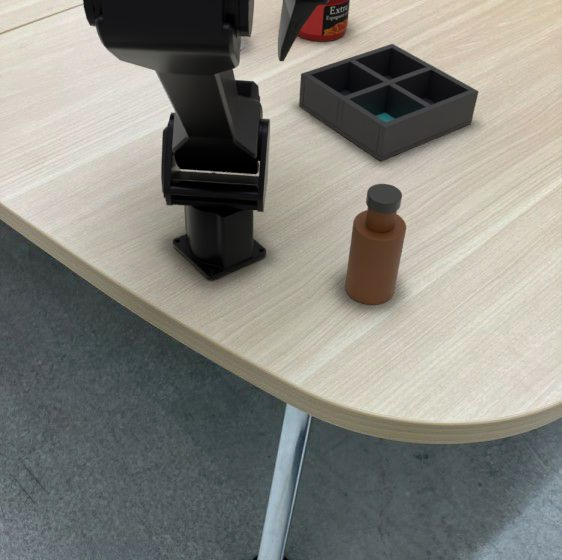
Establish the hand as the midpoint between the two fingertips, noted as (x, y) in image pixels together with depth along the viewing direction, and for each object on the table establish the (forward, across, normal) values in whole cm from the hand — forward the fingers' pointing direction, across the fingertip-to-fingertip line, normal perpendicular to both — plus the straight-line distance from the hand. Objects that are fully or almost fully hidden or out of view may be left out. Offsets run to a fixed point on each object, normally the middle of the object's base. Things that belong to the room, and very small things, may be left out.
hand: (229, 61), depth 70 cm
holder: (+15, -19, -11) cm, 27 cm away
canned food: (+18, -16, -34) cm, 42 cm away
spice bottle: (+11, -10, +18) cm, 24 cm away
